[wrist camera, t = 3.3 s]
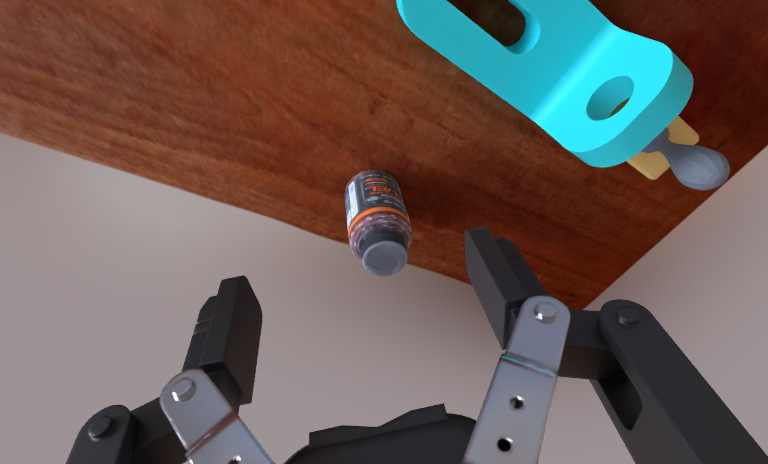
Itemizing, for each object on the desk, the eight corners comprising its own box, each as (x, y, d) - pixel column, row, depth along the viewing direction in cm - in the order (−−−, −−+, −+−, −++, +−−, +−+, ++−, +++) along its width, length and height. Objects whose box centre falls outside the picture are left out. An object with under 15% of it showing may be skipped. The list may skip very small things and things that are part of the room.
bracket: (615, 39, 36) (717, 77, 27) (541, 124, 41) (608, 182, 31) (450, -122, 28) (518, -147, 19) (379, 7, 32) (405, 38, 23)
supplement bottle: (405, 171, 42) (429, 236, 33) (391, 217, 45) (410, 287, 36) (349, 162, 40) (359, 229, 31) (339, 210, 44) (345, 282, 35)
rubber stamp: (676, 124, 43) (778, 179, 33) (632, 166, 45) (715, 228, 36) (624, 75, 39) (724, 122, 29) (579, 124, 41) (657, 182, 32)
